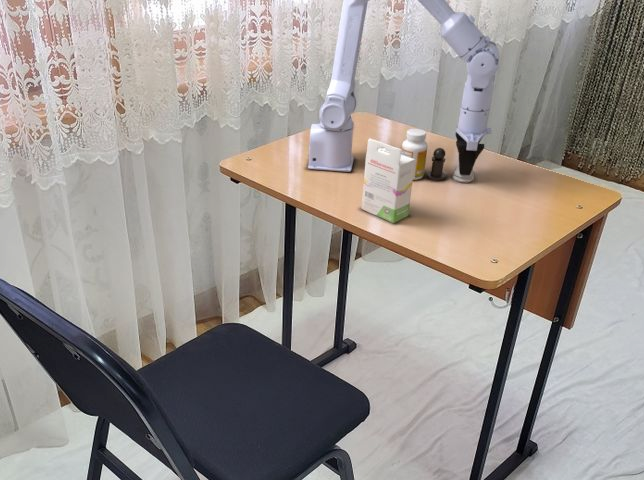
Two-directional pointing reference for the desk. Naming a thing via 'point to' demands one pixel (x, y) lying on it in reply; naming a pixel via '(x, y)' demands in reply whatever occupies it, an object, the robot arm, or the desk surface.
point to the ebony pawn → (437, 166)
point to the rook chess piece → (462, 176)
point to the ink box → (387, 181)
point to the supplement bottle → (416, 150)
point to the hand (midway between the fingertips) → (464, 170)
